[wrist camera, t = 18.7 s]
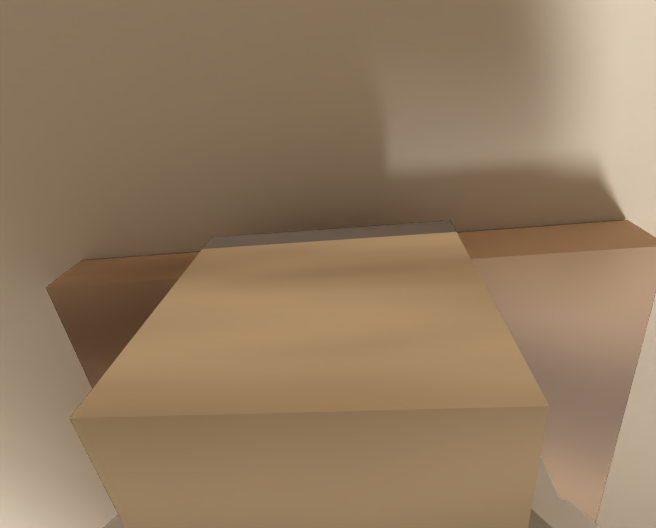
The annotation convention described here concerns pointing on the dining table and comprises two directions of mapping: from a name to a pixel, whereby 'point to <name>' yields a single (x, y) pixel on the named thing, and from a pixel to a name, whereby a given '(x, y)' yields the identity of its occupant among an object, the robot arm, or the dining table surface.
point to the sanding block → (321, 391)
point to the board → (511, 301)
